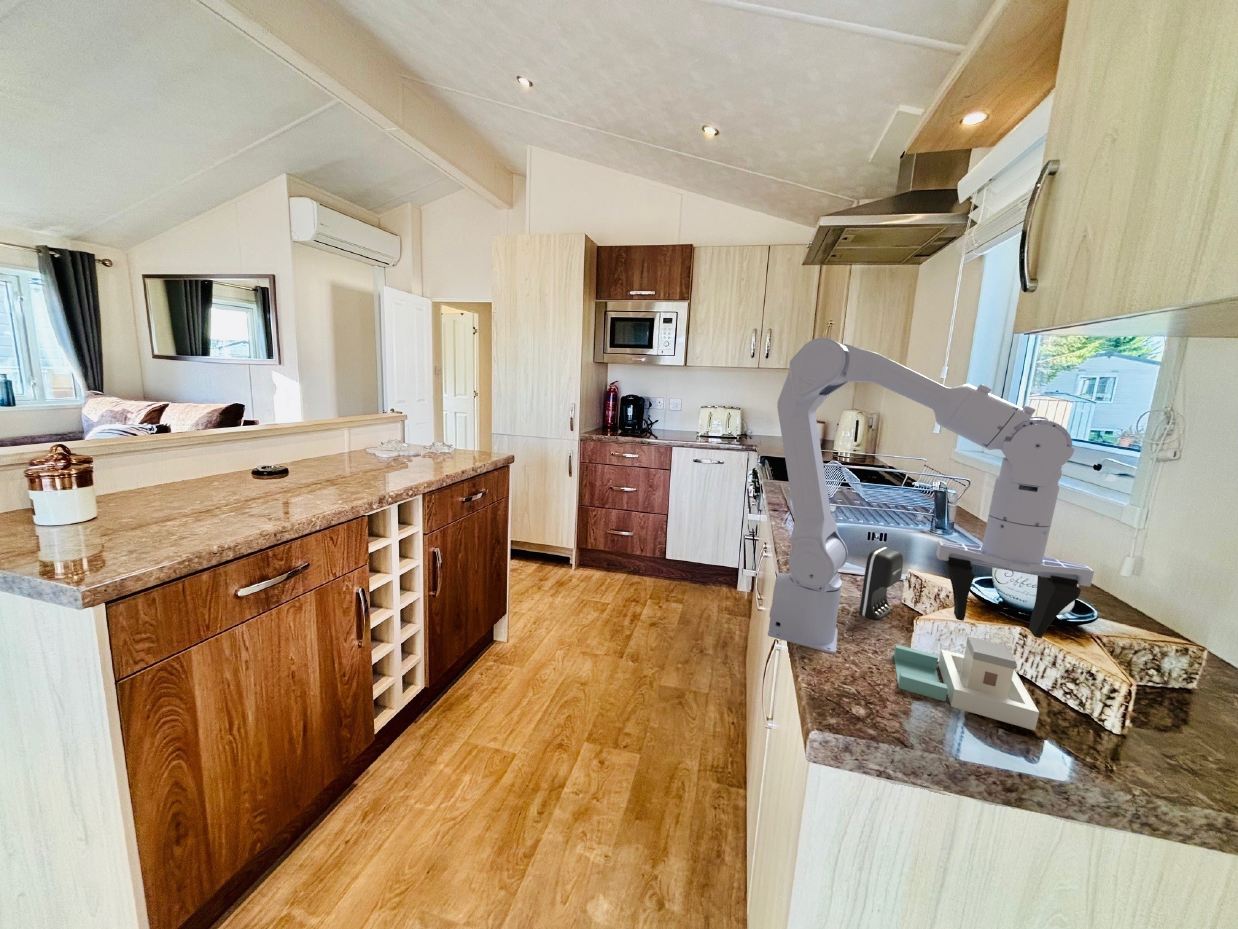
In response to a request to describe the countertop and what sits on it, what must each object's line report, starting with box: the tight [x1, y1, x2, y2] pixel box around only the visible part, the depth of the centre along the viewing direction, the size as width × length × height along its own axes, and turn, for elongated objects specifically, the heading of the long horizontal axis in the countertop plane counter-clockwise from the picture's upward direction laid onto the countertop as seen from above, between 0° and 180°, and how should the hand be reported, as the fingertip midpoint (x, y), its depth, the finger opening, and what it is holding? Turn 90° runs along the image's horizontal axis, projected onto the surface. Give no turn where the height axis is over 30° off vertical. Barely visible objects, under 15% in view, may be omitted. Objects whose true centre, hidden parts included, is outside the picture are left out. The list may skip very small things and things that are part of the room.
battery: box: [858, 546, 904, 621], centre depth 80 cm, size 7×4×11 cm, turn 131°
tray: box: [937, 649, 1040, 731], centre depth 60 cm, size 8×10×3 cm
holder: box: [893, 644, 948, 702], centre depth 63 cm, size 8×5×2 cm, turn 154°
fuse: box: [960, 636, 1017, 699], centre depth 60 cm, size 4×4×6 cm
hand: (995, 625), depth 59 cm, fingers open, 7 cm apart
